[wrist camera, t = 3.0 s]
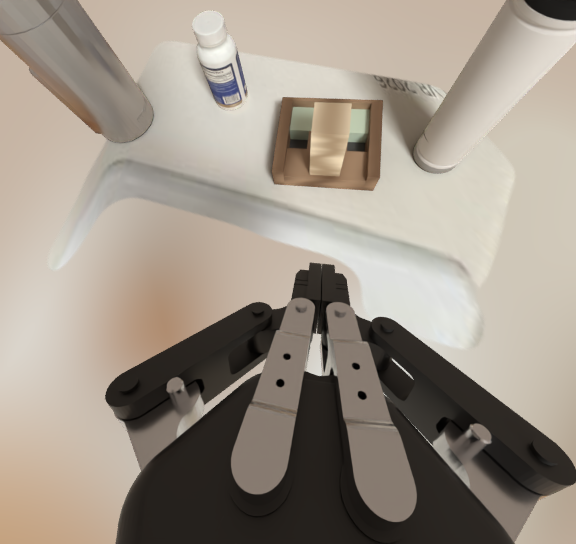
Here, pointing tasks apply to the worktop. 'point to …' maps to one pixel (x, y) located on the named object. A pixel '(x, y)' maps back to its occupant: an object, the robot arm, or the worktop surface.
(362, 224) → the worktop surface
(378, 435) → the robot arm
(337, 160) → the birch block
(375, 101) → the box
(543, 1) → the travel mug
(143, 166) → the worktop surface
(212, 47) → the pill bottle
